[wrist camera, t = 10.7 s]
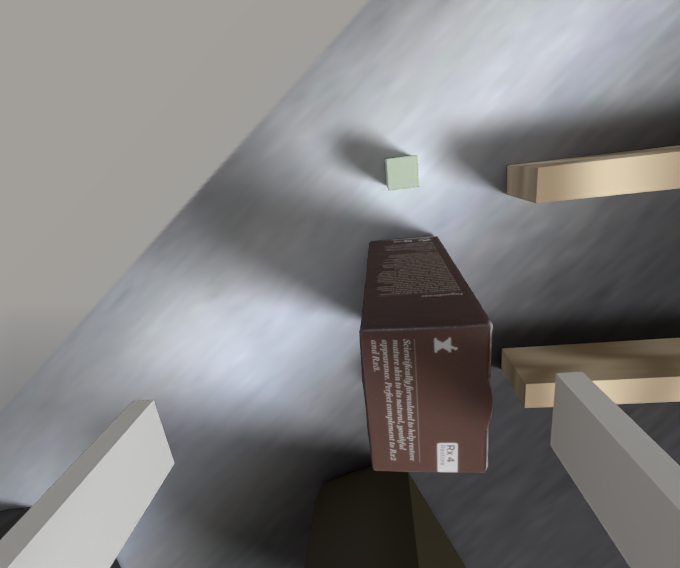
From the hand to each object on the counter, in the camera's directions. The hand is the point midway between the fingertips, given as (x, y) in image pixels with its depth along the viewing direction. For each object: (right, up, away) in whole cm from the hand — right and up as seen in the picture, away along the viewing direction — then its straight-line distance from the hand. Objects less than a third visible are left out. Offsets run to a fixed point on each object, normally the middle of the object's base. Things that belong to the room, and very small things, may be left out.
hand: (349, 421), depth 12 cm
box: (+4, +5, +11) cm, 13 cm away
